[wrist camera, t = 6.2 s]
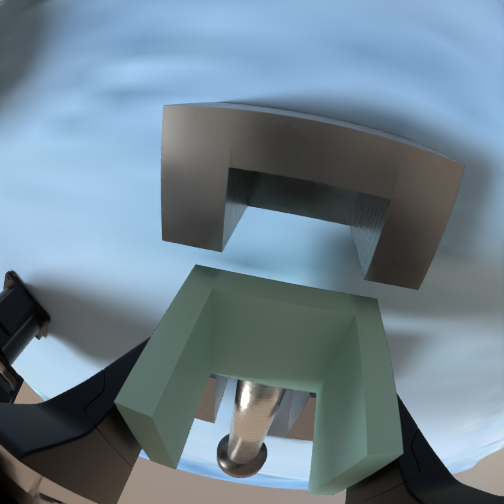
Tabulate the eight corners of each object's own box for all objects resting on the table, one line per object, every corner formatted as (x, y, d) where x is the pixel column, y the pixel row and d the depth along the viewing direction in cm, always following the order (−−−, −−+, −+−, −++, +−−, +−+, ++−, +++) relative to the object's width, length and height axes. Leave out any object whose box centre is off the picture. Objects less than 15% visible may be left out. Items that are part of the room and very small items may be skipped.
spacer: (336, 376, 11) (333, 494, 7) (197, 350, 12) (150, 460, 7) (376, 298, 9) (403, 453, 4) (195, 264, 10) (113, 401, 5)
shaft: (267, 443, 23) (259, 481, 19) (222, 434, 23) (211, 471, 20) (314, 334, 15) (311, 404, 11) (233, 319, 15) (210, 385, 11)
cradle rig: (321, 379, 18) (317, 441, 14) (205, 356, 18) (183, 414, 14) (409, 139, 10) (465, 165, 6) (217, 102, 10) (163, 105, 6)
